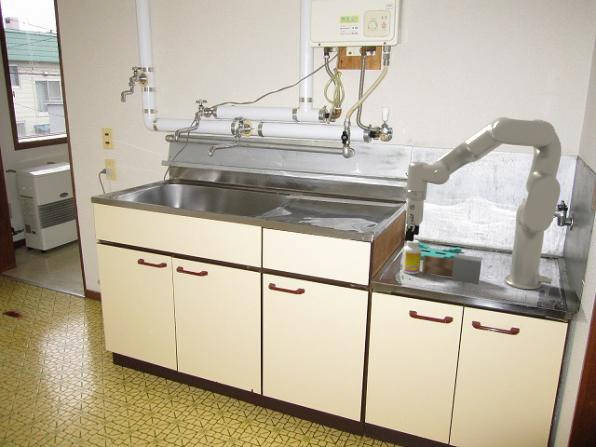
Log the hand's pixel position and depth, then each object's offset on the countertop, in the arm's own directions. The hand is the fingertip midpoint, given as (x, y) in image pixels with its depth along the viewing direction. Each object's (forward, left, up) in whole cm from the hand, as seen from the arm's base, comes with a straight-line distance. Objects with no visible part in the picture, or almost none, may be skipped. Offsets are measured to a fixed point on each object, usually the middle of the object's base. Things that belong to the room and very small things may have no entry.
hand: (411, 237), depth 190 cm
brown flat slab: (-12, 0, -14) cm, 19 cm away
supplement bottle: (-1, 0, -14) cm, 14 cm away
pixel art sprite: (-5, -26, -15) cm, 30 cm away
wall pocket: (-21, 0, -14) cm, 26 cm away
